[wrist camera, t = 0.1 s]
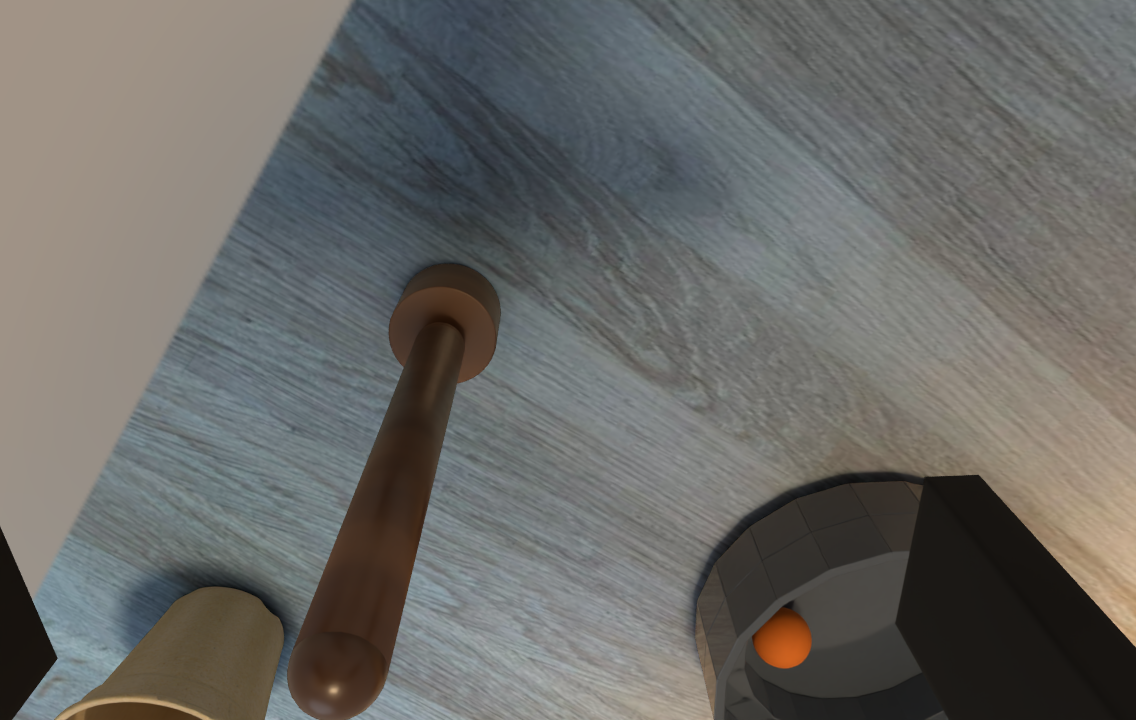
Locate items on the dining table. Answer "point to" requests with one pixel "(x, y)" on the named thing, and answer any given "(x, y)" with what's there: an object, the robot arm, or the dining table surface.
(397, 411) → the wooden pestle
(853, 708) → the bowl
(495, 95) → the dining table surface
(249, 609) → the flower pot
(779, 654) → the bead
